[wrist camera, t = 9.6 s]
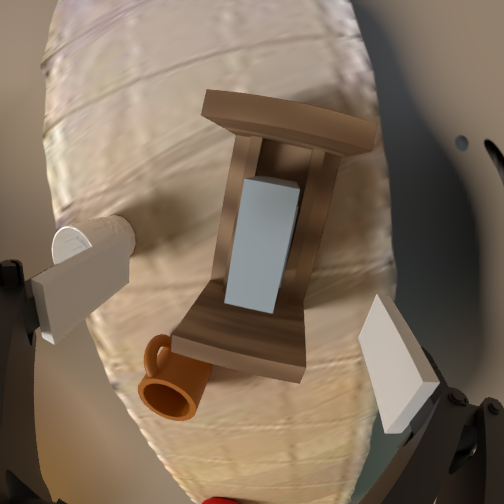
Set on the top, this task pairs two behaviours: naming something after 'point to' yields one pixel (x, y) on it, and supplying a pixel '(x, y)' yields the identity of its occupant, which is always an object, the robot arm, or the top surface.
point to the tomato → (219, 501)
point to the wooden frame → (303, 239)
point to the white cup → (89, 236)
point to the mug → (172, 381)
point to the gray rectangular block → (262, 242)
